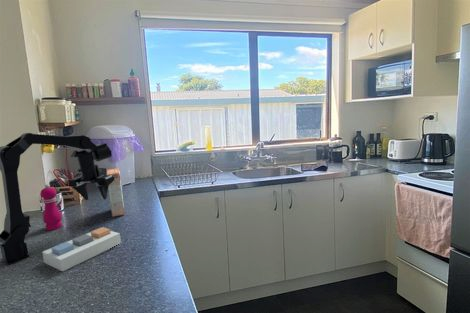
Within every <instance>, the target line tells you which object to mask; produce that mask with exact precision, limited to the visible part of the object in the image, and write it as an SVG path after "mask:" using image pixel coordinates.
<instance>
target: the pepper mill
mask: <svg viewBox="0 0 470 313" xmlns="http://www.w3.org/2000/svg"><path fill="white" fill-rule="evenodd" d="M56 195H57V190H56V188H54V187H53V186H51V185H50V184H49V183H46V184H45V185H44V188H42V189H41V191H40V198H42V201H43V202H42V203H43V204H44V213H43V216H42V221H43V223H44V224H46V225H45V230H46V231H54V230H57V229H61V228H62V226H63V222H62V219H63V215H62V212H61V211H60V210H59V208H58V207H57V206H58V205H57V203H56V201H57V197H56Z"/></svg>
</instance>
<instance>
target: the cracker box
mask: <svg viewBox="0 0 470 313" xmlns="http://www.w3.org/2000/svg"><path fill="white" fill-rule="evenodd" d="M106 175H113V176H114V180H115V181H113V182H112V183H111V184H110V185H109V186H108V195H109V202H110V204H109V205H110V212H111V217H112V218H113V217H114V218H115V217H119V216H124V215H125V205H124V197H123V188H122V187H123V186H122V179H121V177H122V176H121V172H120V168H112V169H110V168H109V169H106Z"/></svg>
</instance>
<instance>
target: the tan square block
mask: <svg viewBox="0 0 470 313" xmlns="http://www.w3.org/2000/svg"><path fill="white" fill-rule="evenodd" d="M110 231H111V229H110V228H107V227H103V226H101V227H98V228H97V229H94V230H92V231H91V230H90V232H91V236H92V237H95V238H98V239H99V238H101V237H104V236H106V235H108V234H110Z"/></svg>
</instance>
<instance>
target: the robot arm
mask: <svg viewBox="0 0 470 313" xmlns="http://www.w3.org/2000/svg"><path fill="white" fill-rule="evenodd" d="M32 145H49V146H64V147H68V148H71V149H77V150H73V152H72V153H71V154H70V157H71V158H76V159H77V162H78V166H79V169H78V170H77V171H78V173H79V172H80V174H81V176H75V177H73V178H71V179H69V180H68V187H69V188H72V189H74V191H76V192H77V193H78V194H79V195H80V196H81V197H82V198H83V199H84V200H85V201H88V200H89V195H88V191H87V184H91V183H92V184H94V183H96V184H97V189H98V190H99V192H100V195H101V197H102V198H103V200H107V197H108V192H109V189H108V186H109V185H110V184H111V183H112V182H113V181H115V180H114V176H113V175H107V167H106V168H105V167H99V166H98V164H96V163H95V161H96V162H102V161H104V160H107V159H111V158H112V155H113V154H112V153H113V152H112V150H111V149H110V147H109V146H108V143H107V142H106V143H105V142H104V143H100V144H97V145H96V144H95V143H94V142H92V141H91V138H90V137H89V136H88V135H86V134H84V135H83V134H75V135H74V134H73V135H65V136H63V135H51V134H50V135H49V134H41V133H40V134H38V133H31V132H24V133H22V134H21V135H20V136H18V137H17V138H15V139H14V140H12V141H10V142H9V143H7V144H6V145H2V146H0V172H1V177H2V178H1V179H2V186H3V193H4V201H5V208H6V214H5V217H4V221H3V222H4V223H3V229H2V231H1V232H0V243H1V244H0V252H1V257H2V258H1V259H0V261H1V262H3V263H4V264H7V265H12V264H14V263H16V262H19V261H22V260H24V259H27V258H29V257H30V255H29V250H28V244H27V242H25V239H26V235H28V234H29V232H30V228H31V227H32V225H31V223H30V218H31V217H30V215H29V214H26V213H24V212H23V209H22V200H21V193H20V184H19V177H18V171H19V167H20V164H21V163H20V162H21V155H22V154H24V153H25V152H26V151H27V150H28V149H29V148H30V147H31V146H32ZM78 150H79V151H78Z"/></svg>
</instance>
